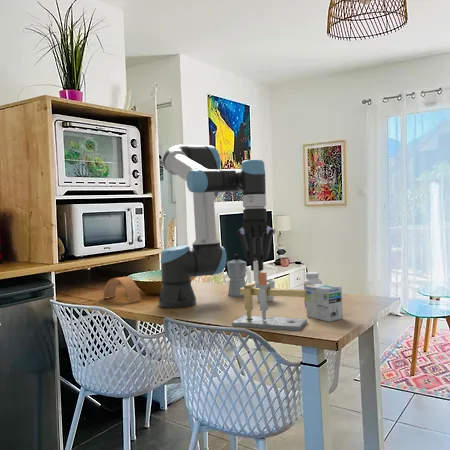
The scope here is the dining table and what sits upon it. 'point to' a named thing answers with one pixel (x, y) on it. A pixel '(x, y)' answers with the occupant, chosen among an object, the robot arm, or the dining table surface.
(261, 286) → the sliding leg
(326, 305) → the light bulb box
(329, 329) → the dining table surface
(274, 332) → the dining table surface
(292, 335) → the dining table surface
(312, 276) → the supplement bottle
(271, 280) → the cup
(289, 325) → the bolt plate
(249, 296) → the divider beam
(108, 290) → the arch
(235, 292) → the coffee maker
